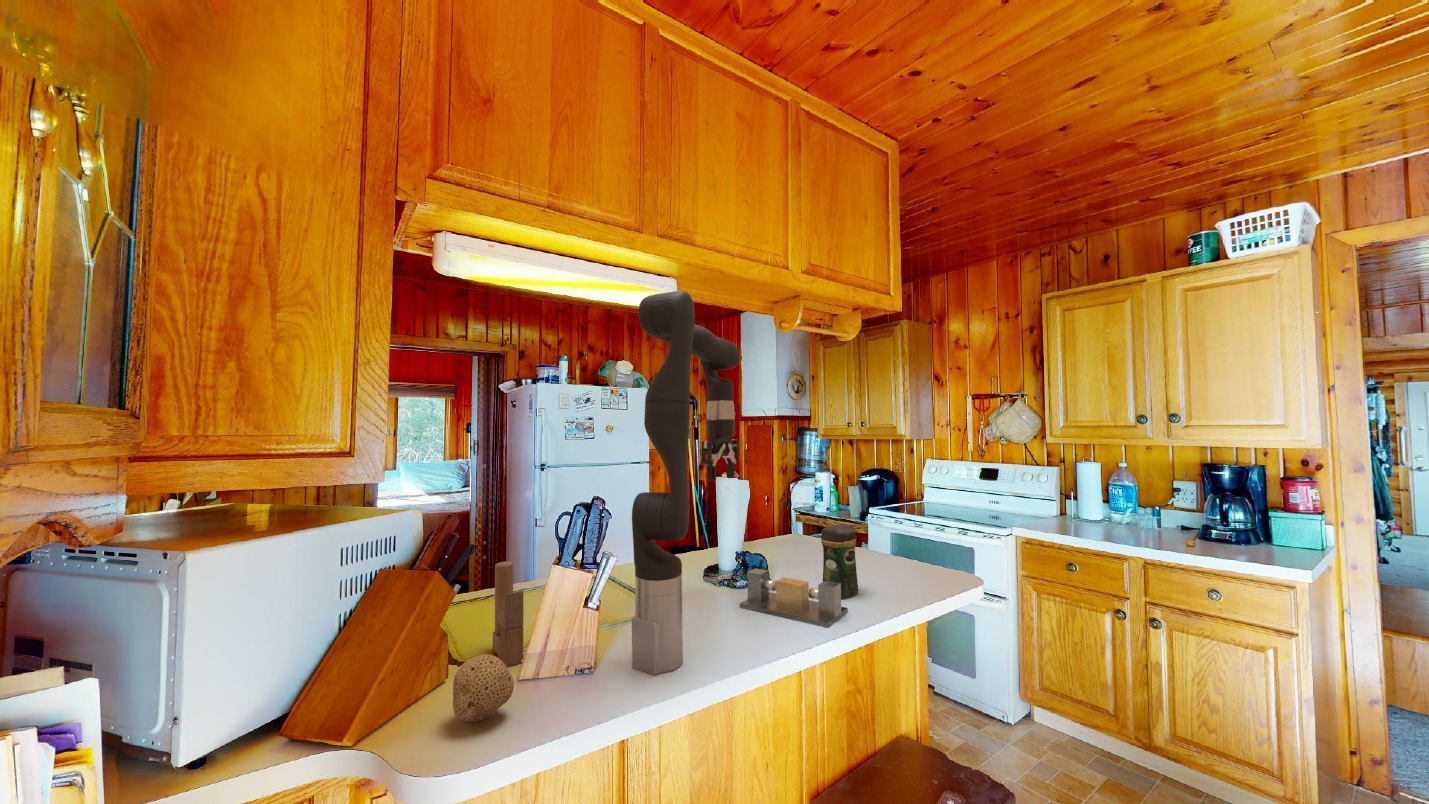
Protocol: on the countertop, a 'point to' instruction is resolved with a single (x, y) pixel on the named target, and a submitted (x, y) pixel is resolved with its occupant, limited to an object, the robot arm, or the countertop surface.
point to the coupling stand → (815, 613)
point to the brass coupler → (792, 593)
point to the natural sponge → (481, 687)
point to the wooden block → (507, 616)
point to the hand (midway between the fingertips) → (721, 479)
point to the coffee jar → (840, 557)
